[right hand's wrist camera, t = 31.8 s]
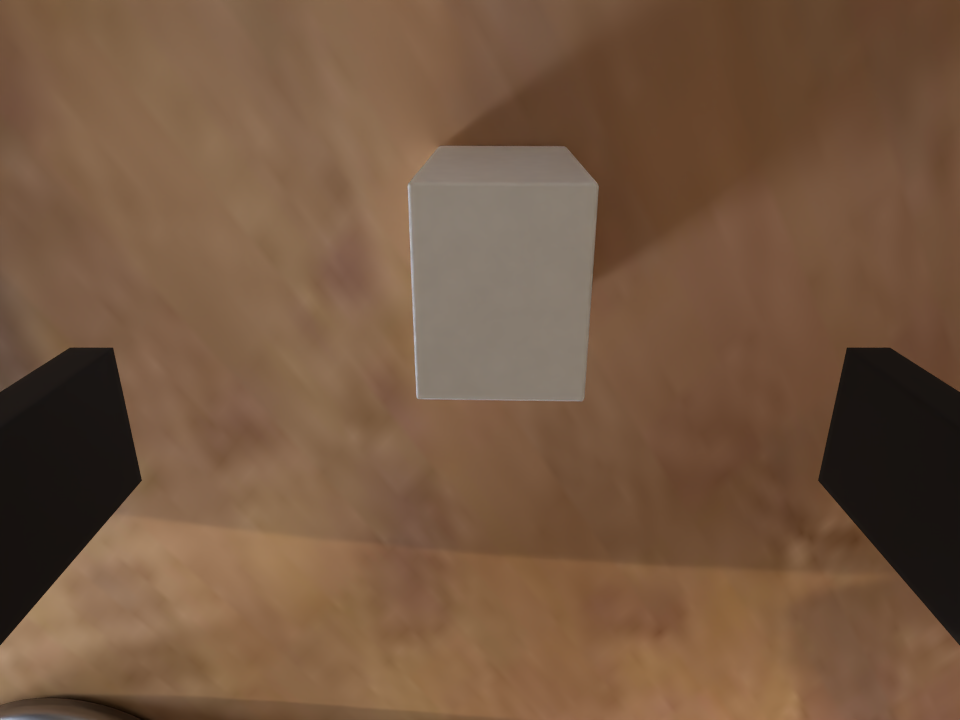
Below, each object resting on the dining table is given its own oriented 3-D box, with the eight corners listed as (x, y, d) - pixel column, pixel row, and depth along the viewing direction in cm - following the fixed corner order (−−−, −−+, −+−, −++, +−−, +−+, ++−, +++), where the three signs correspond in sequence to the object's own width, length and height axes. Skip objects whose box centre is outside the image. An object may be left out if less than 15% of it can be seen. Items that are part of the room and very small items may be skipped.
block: (441, 300, 27) (416, 400, 19) (438, 145, 25) (407, 182, 17) (559, 301, 27) (584, 402, 19) (566, 145, 25) (599, 183, 17)
